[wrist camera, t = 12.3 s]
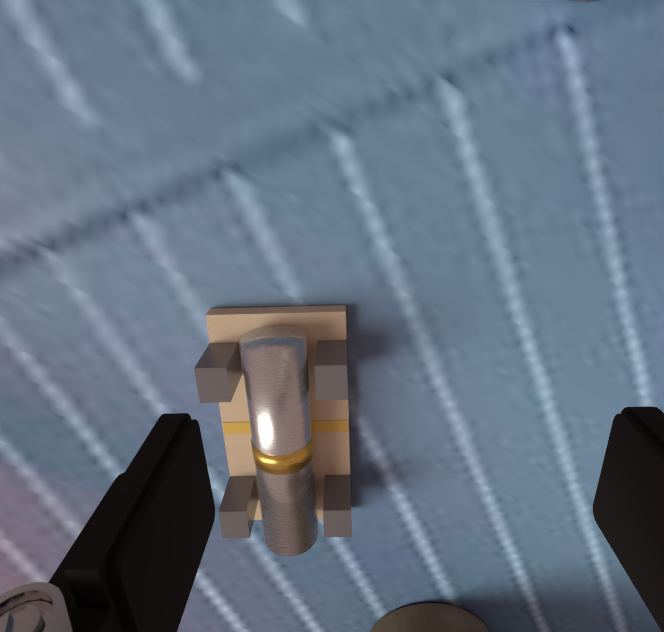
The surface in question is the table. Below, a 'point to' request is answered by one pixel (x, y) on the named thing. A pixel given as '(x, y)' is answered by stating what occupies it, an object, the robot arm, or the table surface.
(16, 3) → the table surface
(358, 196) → the table surface
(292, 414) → the tube
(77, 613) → the robot arm
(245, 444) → the plate
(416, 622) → the plant pot
